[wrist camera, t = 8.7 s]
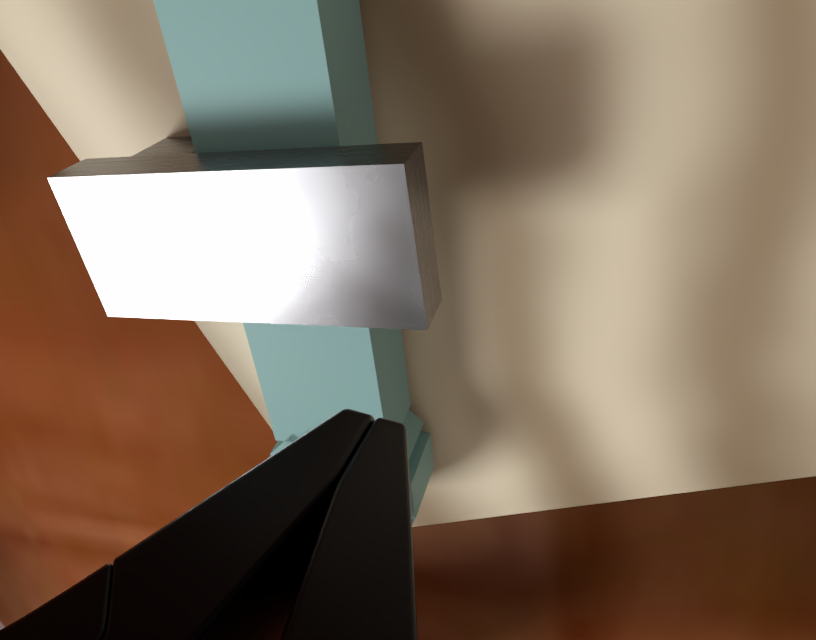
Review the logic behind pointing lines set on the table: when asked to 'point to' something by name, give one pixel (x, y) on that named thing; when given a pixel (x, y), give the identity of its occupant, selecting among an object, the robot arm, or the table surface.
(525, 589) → the table surface
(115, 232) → the pintle and keeper
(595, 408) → the base board
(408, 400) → the link
